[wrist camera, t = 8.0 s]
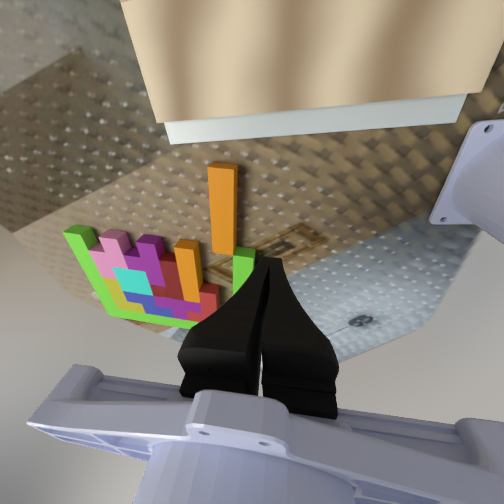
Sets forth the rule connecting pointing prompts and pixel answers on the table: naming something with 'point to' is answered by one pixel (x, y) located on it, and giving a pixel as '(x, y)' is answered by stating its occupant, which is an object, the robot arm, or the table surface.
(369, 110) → the underlay mat
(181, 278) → the toy blocks
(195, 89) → the loose board
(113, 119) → the table surface
